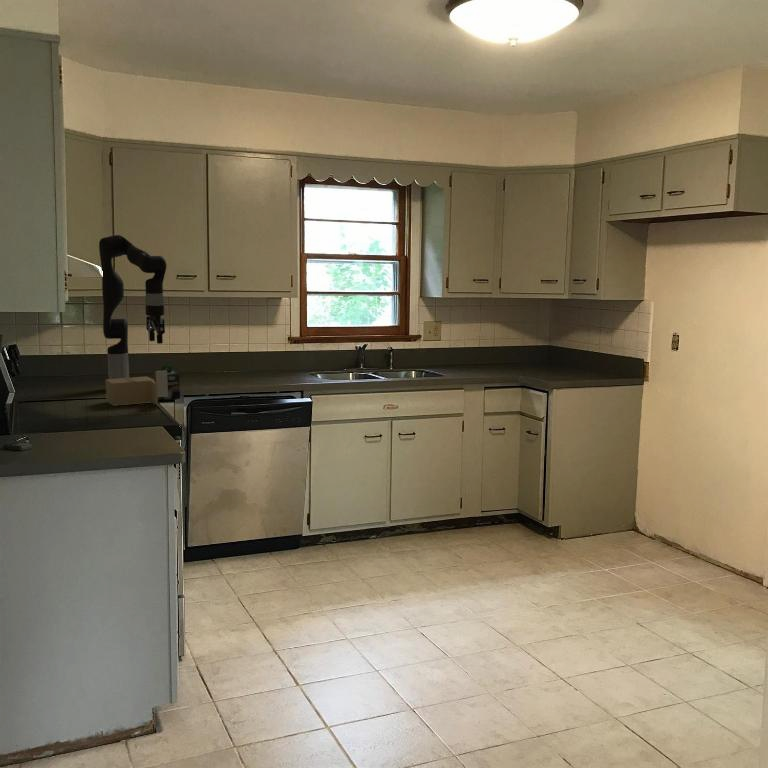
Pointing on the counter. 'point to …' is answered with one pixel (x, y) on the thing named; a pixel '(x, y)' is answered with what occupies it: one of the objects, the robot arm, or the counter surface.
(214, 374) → the counter surface
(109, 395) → the carton
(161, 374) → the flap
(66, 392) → the counter surface
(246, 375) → the counter surface
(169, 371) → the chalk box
